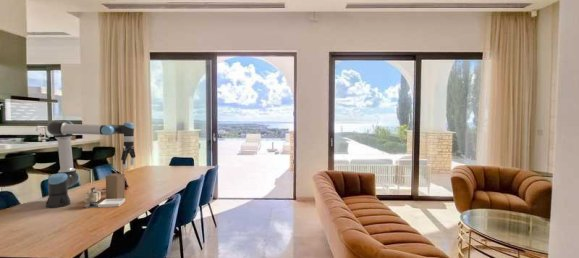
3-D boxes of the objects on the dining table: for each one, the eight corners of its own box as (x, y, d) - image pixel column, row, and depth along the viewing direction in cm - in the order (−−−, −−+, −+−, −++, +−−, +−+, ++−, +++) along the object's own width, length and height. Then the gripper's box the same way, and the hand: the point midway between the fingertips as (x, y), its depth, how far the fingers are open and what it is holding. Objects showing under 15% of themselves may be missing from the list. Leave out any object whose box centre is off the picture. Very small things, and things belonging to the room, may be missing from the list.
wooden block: (124, 197, 259) (124, 173, 258) (117, 200, 249) (116, 176, 248) (113, 196, 260) (113, 173, 259) (105, 199, 250) (105, 175, 249)
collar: (84, 202, 229) (84, 194, 229) (90, 198, 239) (90, 191, 238) (96, 201, 231) (96, 194, 230) (101, 198, 240) (101, 190, 240)
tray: (97, 207, 230) (97, 204, 230) (105, 201, 245) (105, 199, 244) (119, 206, 233) (119, 203, 233) (125, 201, 248) (125, 198, 248)
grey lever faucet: (83, 207, 229) (83, 189, 228) (88, 204, 237) (88, 186, 237) (96, 207, 230) (96, 189, 230) (101, 203, 239) (101, 186, 239)
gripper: (126, 142, 241) (126, 169, 242) (139, 140, 265) (139, 164, 266) (116, 142, 240) (116, 169, 241) (130, 139, 265) (130, 164, 266)
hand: (128, 166), depth 254 cm, fingers open, 13 cm apart
